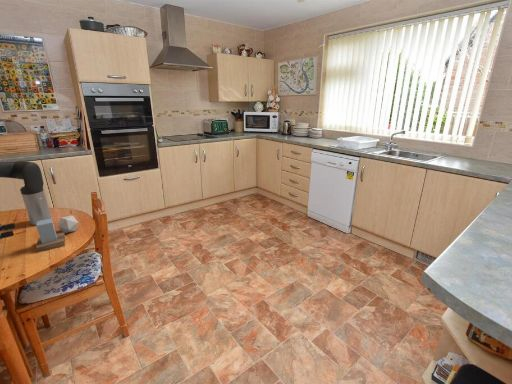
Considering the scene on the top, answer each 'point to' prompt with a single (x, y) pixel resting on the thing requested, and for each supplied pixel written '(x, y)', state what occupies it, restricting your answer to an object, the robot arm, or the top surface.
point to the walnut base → (51, 243)
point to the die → (68, 224)
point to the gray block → (46, 230)
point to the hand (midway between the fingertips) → (14, 229)
